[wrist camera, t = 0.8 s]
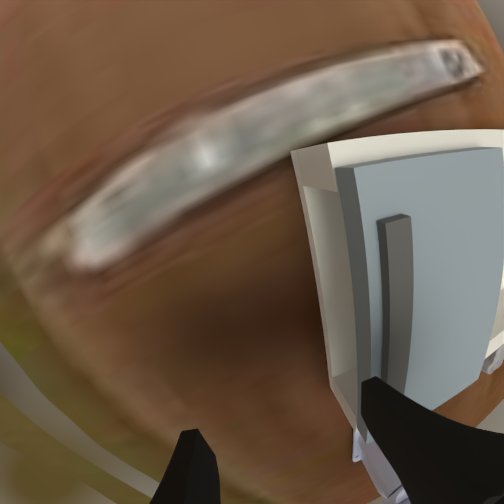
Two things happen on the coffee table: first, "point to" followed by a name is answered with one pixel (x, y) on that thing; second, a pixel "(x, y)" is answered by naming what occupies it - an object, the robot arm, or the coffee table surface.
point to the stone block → (493, 360)
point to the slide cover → (424, 268)
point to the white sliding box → (335, 242)
